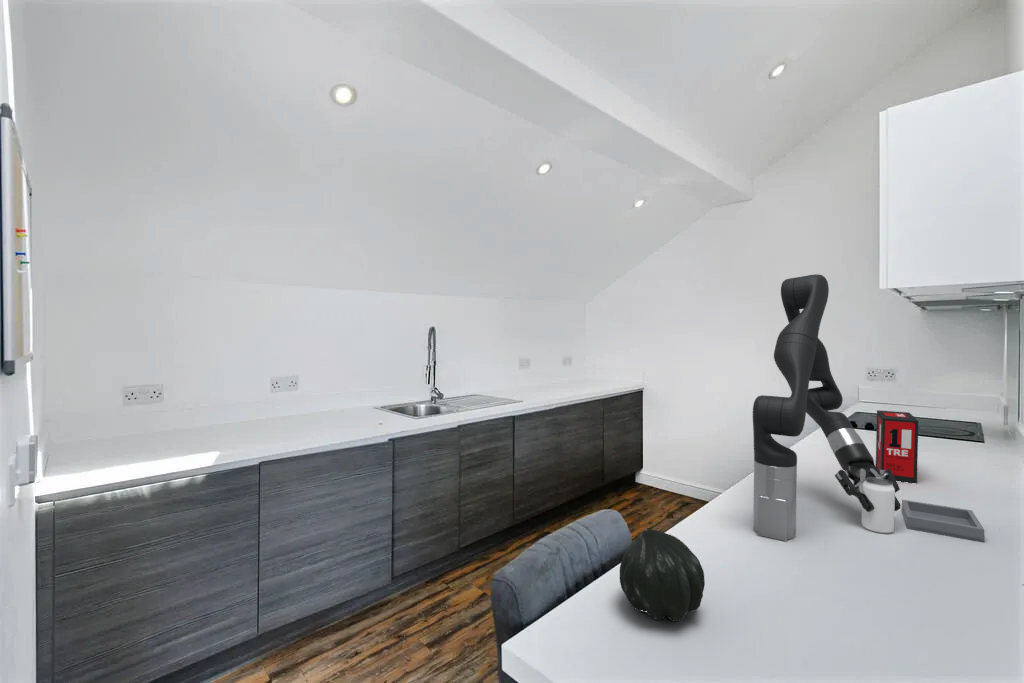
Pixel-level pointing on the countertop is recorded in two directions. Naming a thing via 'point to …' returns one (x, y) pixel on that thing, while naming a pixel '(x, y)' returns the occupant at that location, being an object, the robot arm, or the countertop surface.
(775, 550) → the countertop surface
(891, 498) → the can
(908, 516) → the tray
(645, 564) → the squash
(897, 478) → the cleaning product box
